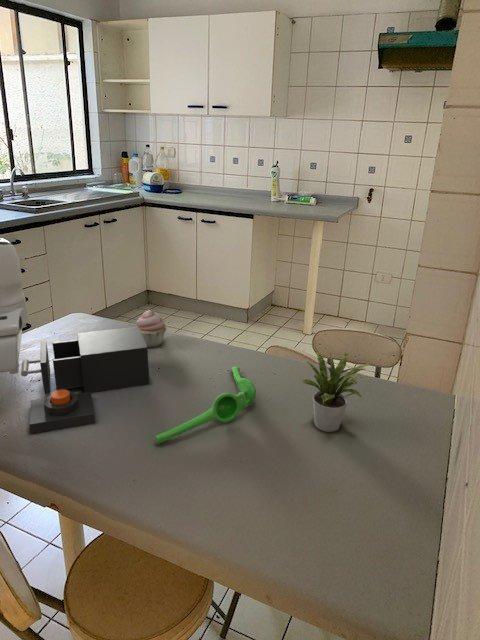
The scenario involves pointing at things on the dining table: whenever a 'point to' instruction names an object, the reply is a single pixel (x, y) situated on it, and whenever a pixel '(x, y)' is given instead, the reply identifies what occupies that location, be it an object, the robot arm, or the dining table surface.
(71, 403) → the panel
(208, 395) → the dining table surface
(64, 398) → the button
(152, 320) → the cupcake
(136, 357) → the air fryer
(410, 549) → the dining table surface
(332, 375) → the house plant
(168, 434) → the lime squeezer
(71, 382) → the basket drawer
